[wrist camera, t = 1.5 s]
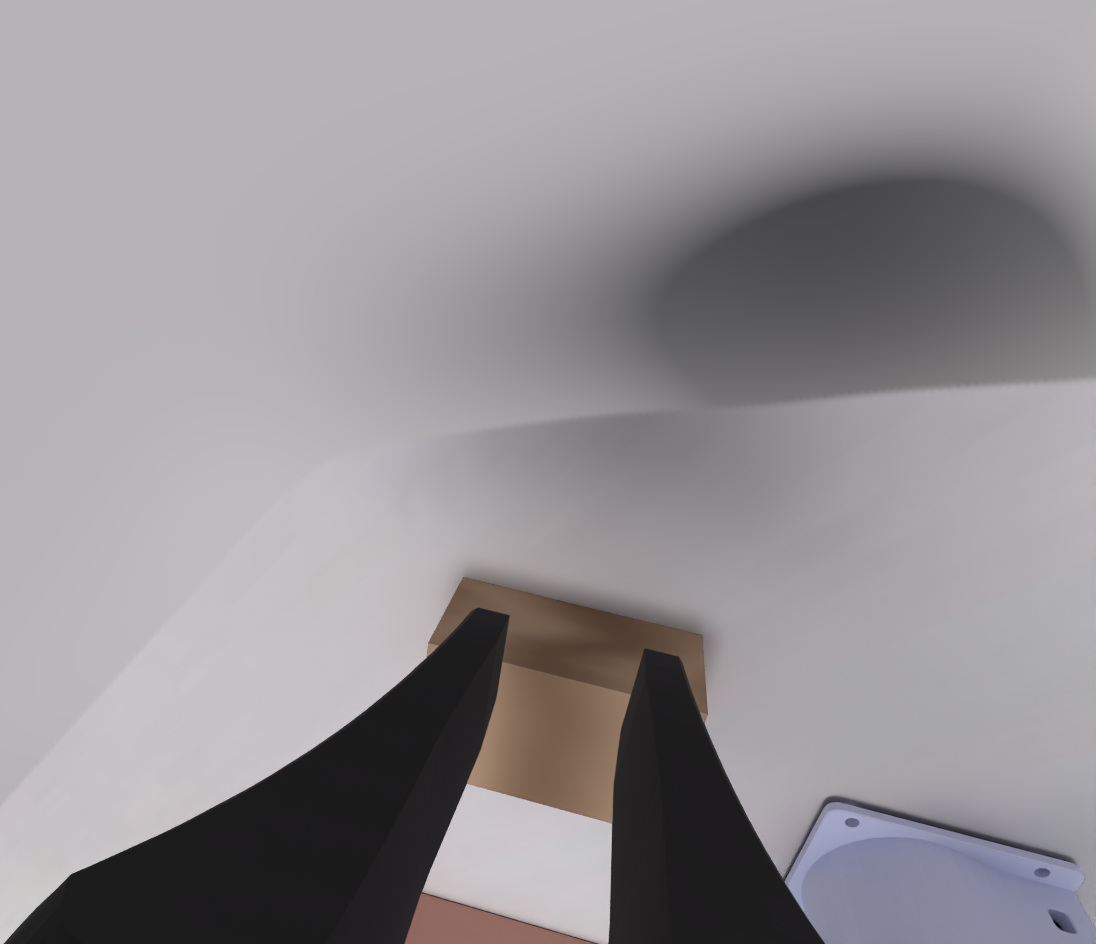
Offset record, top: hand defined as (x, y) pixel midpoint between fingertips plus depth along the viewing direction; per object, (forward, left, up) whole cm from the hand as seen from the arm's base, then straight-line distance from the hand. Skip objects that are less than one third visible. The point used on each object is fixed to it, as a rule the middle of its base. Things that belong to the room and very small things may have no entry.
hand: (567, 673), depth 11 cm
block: (0, +9, -10) cm, 14 cm away
